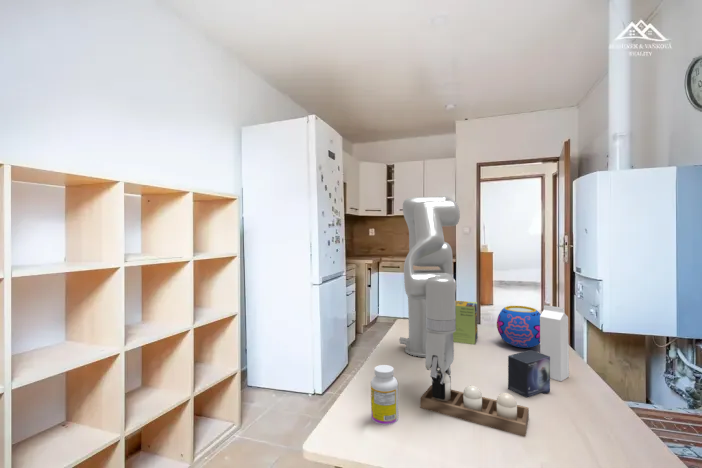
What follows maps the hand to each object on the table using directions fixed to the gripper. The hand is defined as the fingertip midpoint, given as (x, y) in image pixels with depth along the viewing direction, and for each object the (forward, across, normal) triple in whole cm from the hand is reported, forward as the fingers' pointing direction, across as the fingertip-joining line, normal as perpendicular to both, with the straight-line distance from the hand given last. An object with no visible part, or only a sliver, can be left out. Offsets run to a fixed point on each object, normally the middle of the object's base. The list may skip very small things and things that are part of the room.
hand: (441, 393), depth 88 cm
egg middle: (+3, 0, +8) cm, 8 cm away
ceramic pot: (+4, -63, +13) cm, 64 cm away
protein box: (+4, -60, -11) cm, 61 cm away
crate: (+4, 0, +8) cm, 9 cm away
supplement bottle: (+4, +13, -10) cm, 17 cm away
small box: (+4, -21, +19) cm, 28 cm away
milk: (+4, -37, +25) cm, 45 cm away
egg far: (+3, 0, +16) cm, 16 cm away
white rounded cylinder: (+1, 0, 0) cm, 1 cm away
